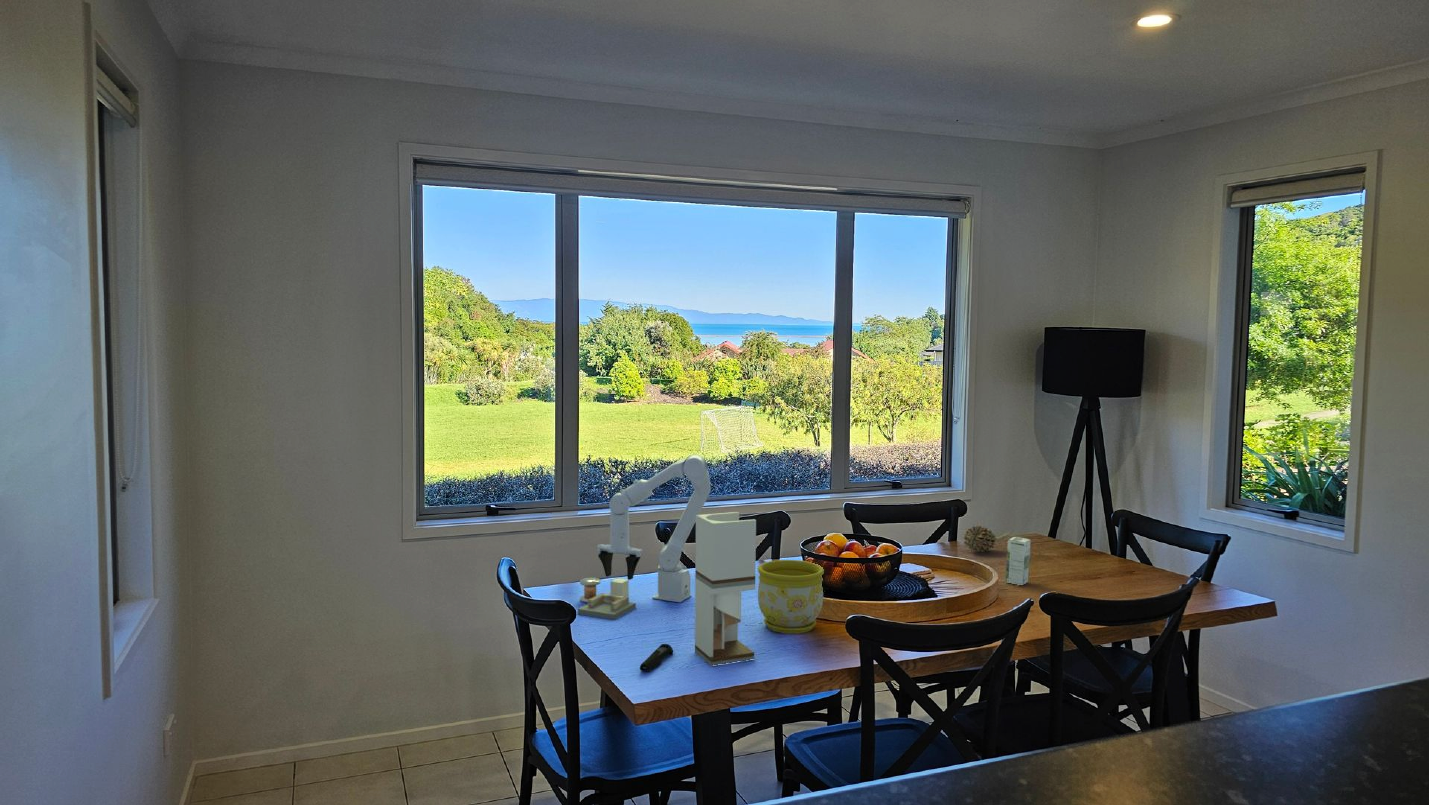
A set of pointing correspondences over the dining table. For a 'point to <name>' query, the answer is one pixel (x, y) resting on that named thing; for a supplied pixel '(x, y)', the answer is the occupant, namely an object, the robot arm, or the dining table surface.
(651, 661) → the electric trimmer
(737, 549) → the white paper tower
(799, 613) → the flowerpot
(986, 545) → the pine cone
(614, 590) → the block
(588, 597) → the bobbin spool
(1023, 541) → the syrup box
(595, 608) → the notched board
